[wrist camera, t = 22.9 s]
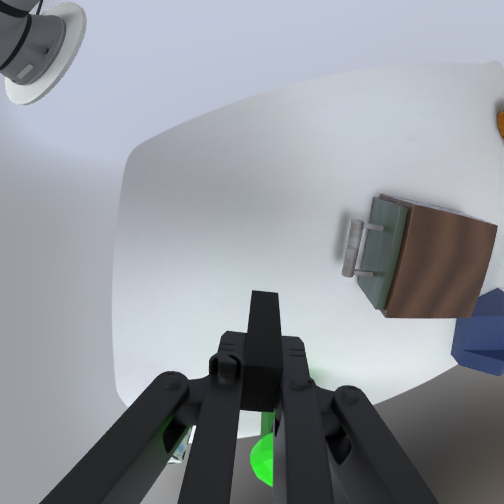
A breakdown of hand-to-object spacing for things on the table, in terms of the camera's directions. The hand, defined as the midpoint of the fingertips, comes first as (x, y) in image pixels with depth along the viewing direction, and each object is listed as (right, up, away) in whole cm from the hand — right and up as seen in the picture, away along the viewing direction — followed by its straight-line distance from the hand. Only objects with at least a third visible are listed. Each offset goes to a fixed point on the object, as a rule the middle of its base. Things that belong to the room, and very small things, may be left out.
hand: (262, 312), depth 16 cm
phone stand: (+45, -11, +25) cm, 52 cm away
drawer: (+20, +4, +20) cm, 29 cm away
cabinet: (+24, +4, +21) cm, 32 cm away
